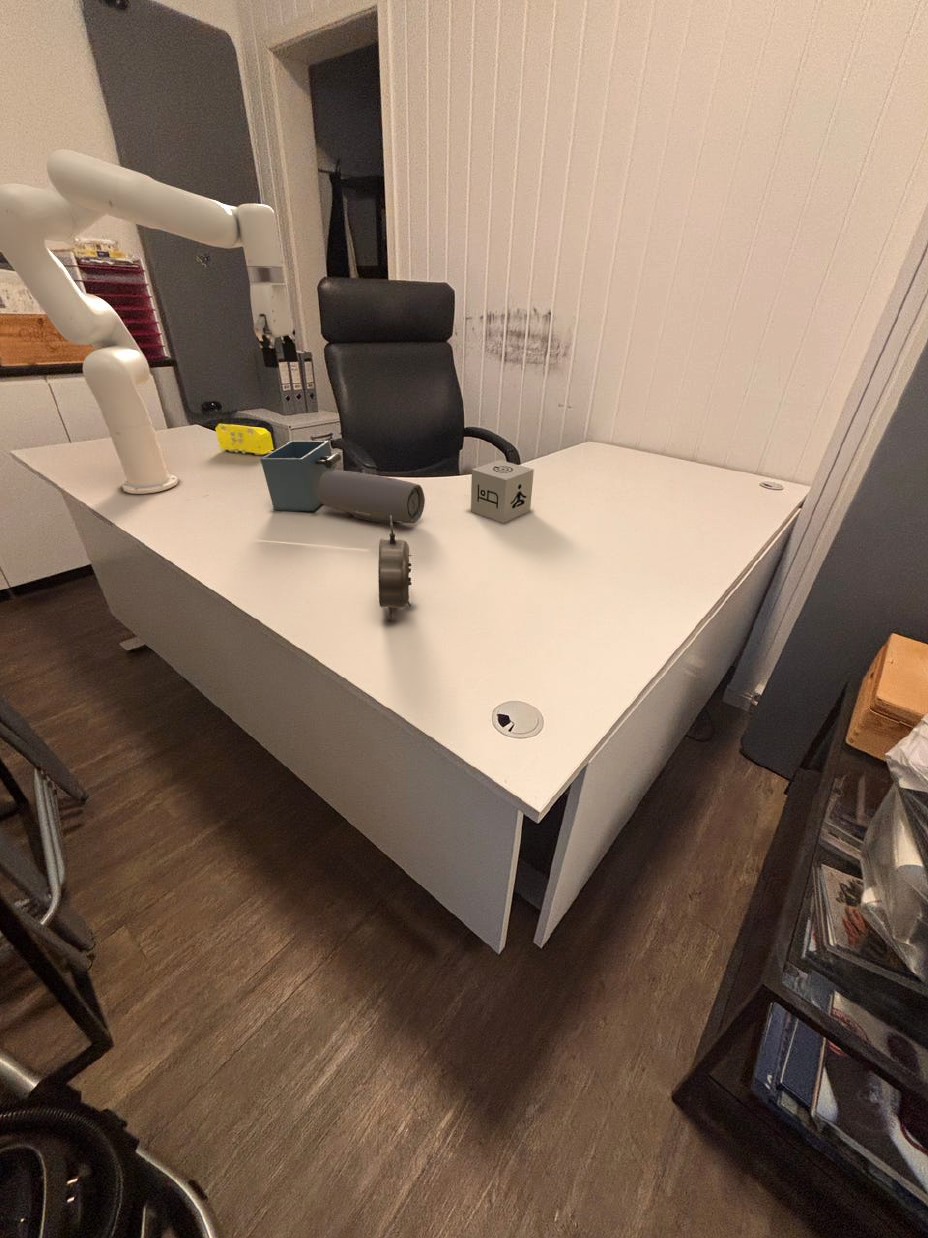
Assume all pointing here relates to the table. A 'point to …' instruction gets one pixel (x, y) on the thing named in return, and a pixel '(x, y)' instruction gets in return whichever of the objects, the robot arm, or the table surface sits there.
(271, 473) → the blue-grey square box
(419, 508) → the bluetooth speaker
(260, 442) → the yellow toy chassis
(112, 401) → the robot arm
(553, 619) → the table surface
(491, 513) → the icon cube
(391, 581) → the alarm clock
